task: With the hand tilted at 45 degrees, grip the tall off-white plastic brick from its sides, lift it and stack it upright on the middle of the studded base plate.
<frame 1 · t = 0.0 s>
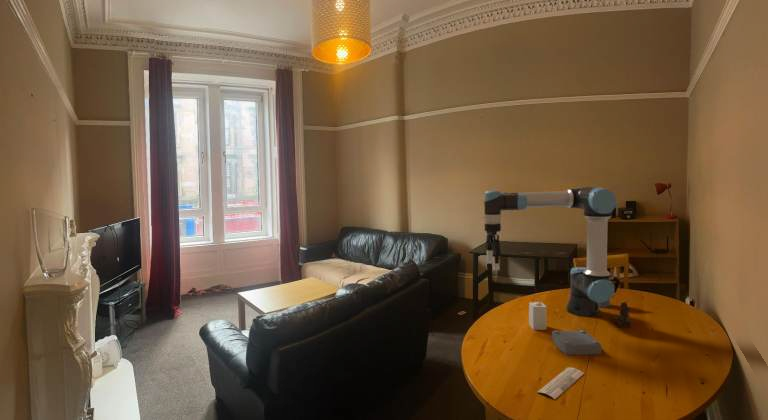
hand: (492, 266, 196), 28 cm above the table, tool pointing down, fingers open, 13 cm apart
coffeepot: (602, 305, 219), on the table
base plate: (575, 346, 169), on the table
newspaper: (562, 386, 141), on the table
tower brick: (537, 327, 191), on the table
dark figurine: (622, 323, 193), on the table
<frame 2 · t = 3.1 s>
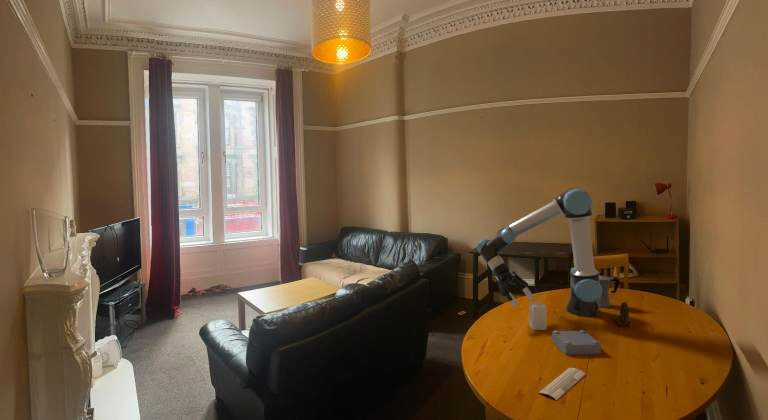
hand: (524, 302, 195), 11 cm above the table, tool tilted 45°, fingers open, 13 cm apart
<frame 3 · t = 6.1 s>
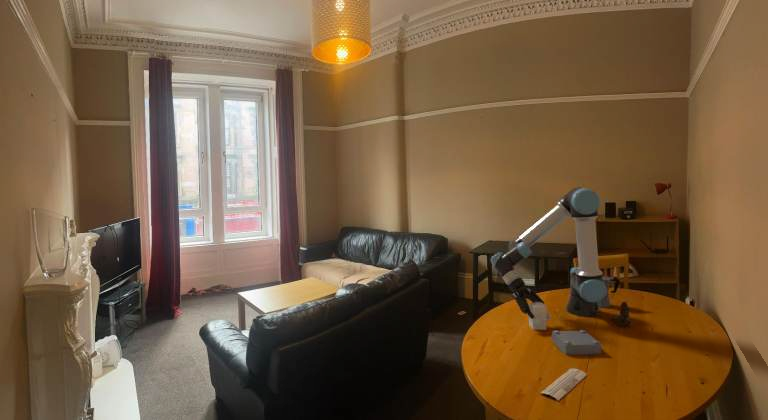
hand: (544, 321, 188), 4 cm above the table, tool tilted 45°, fingers closed on tower brick, 8 cm apart
tower brick: (537, 327, 191), on the table, touching gripper
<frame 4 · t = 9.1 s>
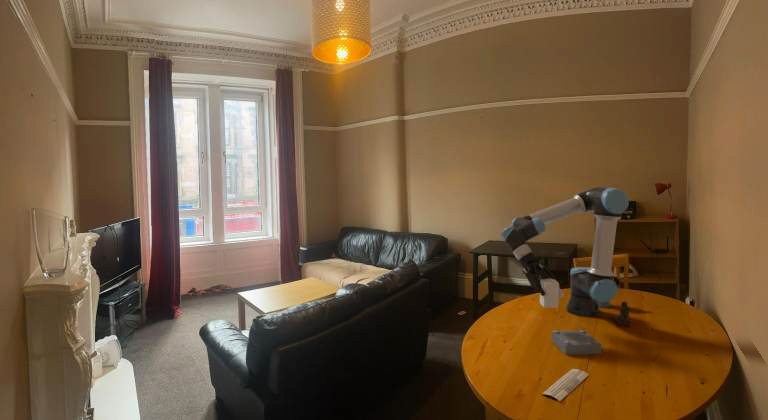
hand: (556, 299, 176), 18 cm above the table, tool tilted 45°, fingers closed on tower brick, 8 cm apart
tower brick: (548, 305, 179), point 14 cm above the table, touching gripper
when the fingers open (9 cm above the table, at t = 12.5 s): tower brick drops 1 cm, resting on base plate.
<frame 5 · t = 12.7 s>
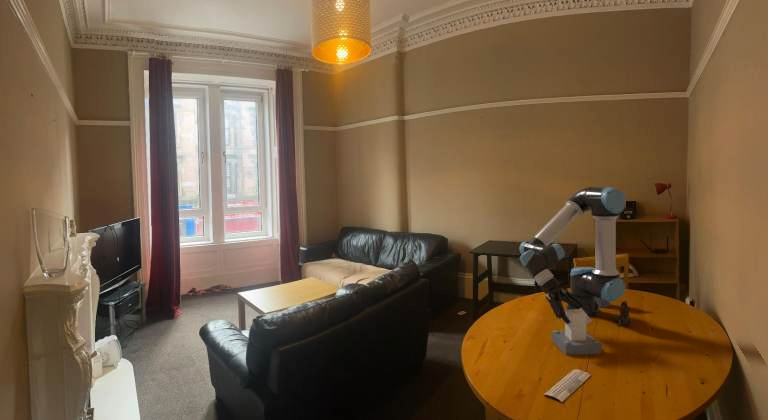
hand: (582, 326, 166), 10 cm above the table, tool tilted 45°, fingers open, 11 cm apart
tower brick: (575, 337, 169), point 4 cm above the table, touching base plate
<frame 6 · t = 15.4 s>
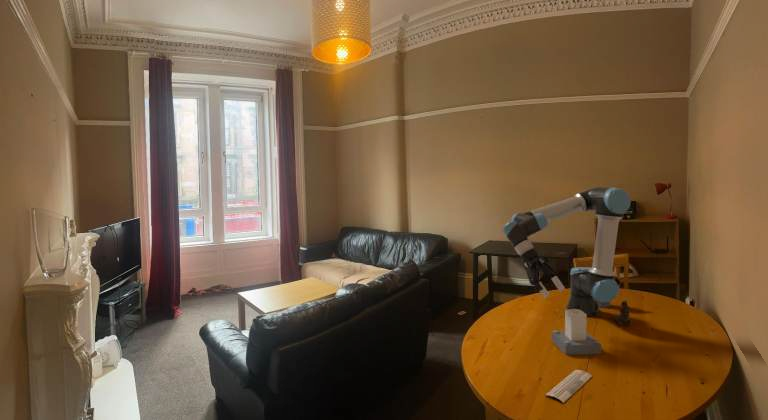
hand: (554, 293, 176), 20 cm above the table, tool tilted 40°, fingers open, 13 cm apart
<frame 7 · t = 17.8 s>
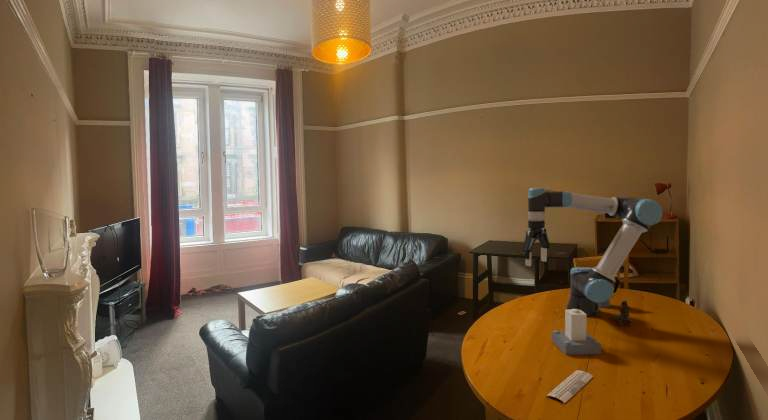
hand: (536, 263, 196), 29 cm above the table, tool pointing down, fingers open, 13 cm apart
at the end: tower brick inside the target area on the base plate (0.1 cm from its centre), point 4.0 cm above the base plate's base; tower brick tilted 0°; the gripper is holding nothing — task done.
